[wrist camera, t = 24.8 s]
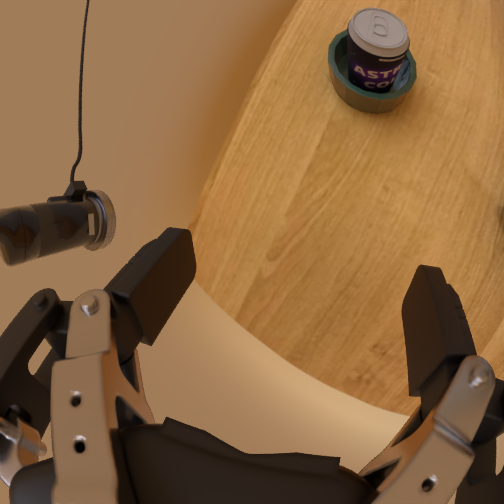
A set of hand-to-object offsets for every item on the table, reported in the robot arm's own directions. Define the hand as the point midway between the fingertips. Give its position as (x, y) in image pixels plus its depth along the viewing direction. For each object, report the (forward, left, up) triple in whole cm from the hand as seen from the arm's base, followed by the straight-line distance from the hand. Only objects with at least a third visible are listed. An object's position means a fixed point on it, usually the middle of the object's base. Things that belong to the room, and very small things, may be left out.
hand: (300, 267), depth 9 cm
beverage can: (-11, +15, -24) cm, 30 cm away
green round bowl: (-11, +15, -24) cm, 30 cm away
